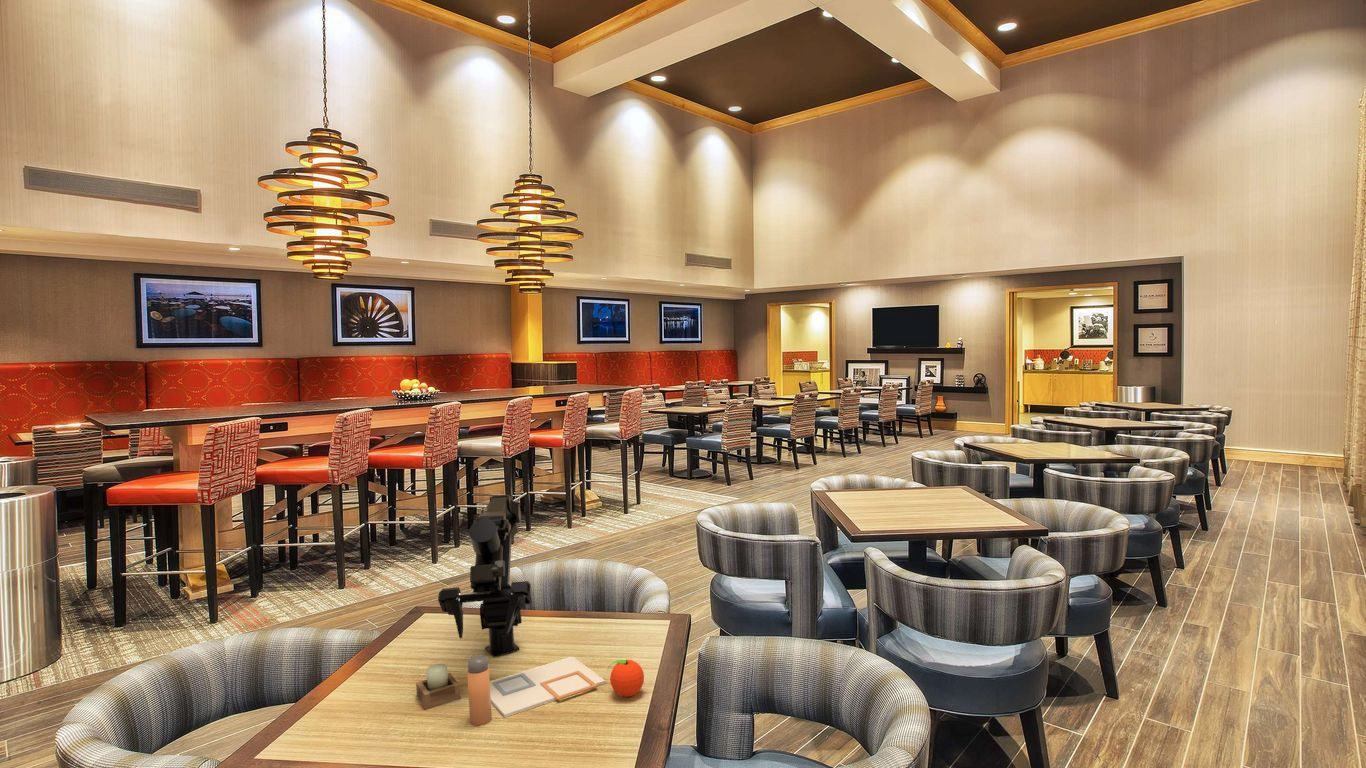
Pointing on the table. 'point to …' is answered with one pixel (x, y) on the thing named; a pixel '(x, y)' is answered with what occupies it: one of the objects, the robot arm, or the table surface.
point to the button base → (438, 693)
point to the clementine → (626, 677)
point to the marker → (479, 690)
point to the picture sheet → (542, 685)
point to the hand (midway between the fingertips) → (483, 635)
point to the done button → (437, 676)
